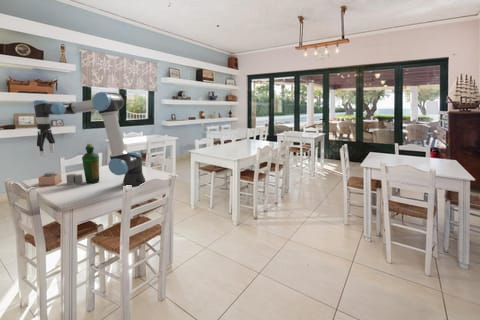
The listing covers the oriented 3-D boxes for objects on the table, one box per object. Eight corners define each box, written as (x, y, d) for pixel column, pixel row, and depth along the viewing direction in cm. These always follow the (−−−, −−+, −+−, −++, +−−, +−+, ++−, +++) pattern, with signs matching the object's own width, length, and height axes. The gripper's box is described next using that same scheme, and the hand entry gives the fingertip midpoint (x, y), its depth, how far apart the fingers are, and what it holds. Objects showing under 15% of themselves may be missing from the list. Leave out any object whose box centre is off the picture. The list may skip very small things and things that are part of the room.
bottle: (101, 183, 196) (98, 144, 191) (84, 185, 191) (80, 145, 186) (100, 179, 205) (97, 143, 200) (84, 181, 200) (80, 143, 195)
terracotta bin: (61, 181, 199) (60, 173, 198) (55, 185, 189) (54, 176, 188) (46, 181, 197) (45, 173, 196) (39, 185, 187) (38, 177, 186)
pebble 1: (55, 181, 195) (54, 172, 194) (52, 183, 191) (51, 173, 190) (48, 181, 195) (47, 172, 193) (45, 183, 190) (44, 173, 189)
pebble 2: (82, 182, 198) (82, 174, 197) (81, 183, 195) (81, 175, 193) (76, 182, 197) (75, 174, 196) (75, 184, 193) (74, 175, 192)
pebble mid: (76, 182, 197) (75, 173, 196) (74, 183, 193) (73, 175, 192) (69, 182, 197) (68, 173, 195) (67, 184, 193) (66, 175, 191)
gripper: (46, 122, 196) (50, 151, 200) (27, 124, 172) (32, 157, 176) (57, 122, 197) (61, 151, 201) (40, 124, 173) (45, 157, 177)
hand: (47, 154), depth 189 cm, fingers open, 13 cm apart
